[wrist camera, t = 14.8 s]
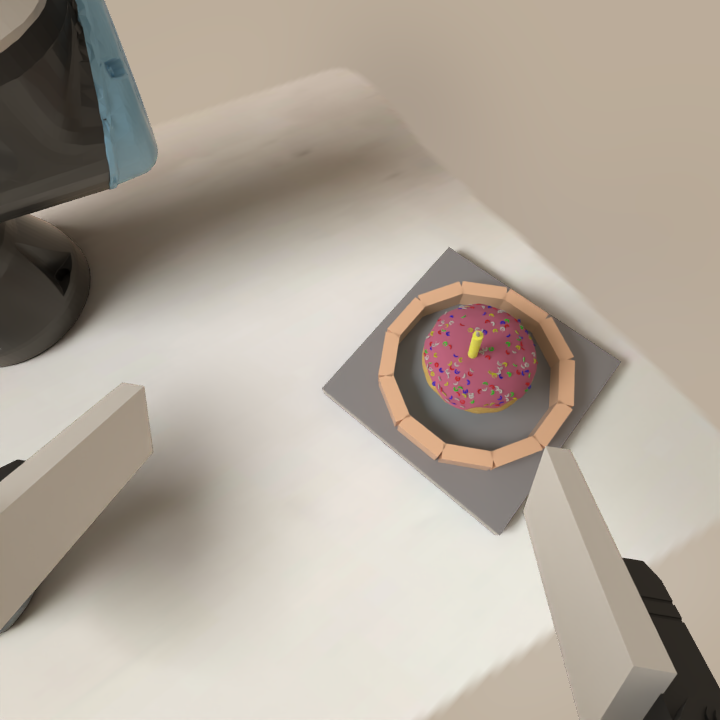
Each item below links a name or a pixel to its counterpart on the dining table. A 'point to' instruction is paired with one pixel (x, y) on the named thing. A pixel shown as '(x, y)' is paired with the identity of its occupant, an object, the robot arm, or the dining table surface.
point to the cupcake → (479, 359)
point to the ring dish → (459, 427)
